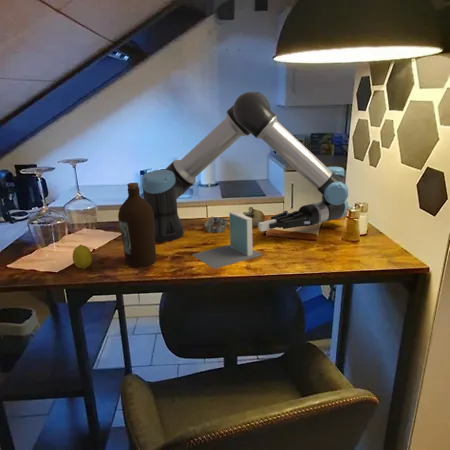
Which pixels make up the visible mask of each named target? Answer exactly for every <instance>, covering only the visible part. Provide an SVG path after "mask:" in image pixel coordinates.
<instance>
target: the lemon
mask: <svg viewBox="0 0 450 450" xmlns="http://www.w3.org/2000/svg"><path fill="white" fill-rule="evenodd" d="M72 261H73V265H75V267H77V268H79V269H82V270H86V269H87V268H88V267H89V266H91V264H92V262H93V254H92V251H91V250H90V248H89V247H88V246H86V245H83V244H79V245H78V246H76V247H75V248H74V250H73V251H72Z"/></svg>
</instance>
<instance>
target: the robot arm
mask: <svg viewBox="0 0 450 450" xmlns="http://www.w3.org/2000/svg"><path fill="white" fill-rule="evenodd" d="M225 114H226V115H225V118H224V119H223V120H222V121H221V122H220V123H219V124H218V125H217V126H215V127H214V128H213V129H212V130H211V131H210V132H209V133H208V134H207V135H206V136H205V137H204V138H203V139H201V140H200V142H198V143H197V144H196V145H195V146H193V148H192V149H191V150H190V151H189V152H187V153H186V155H185V156H184V157H182V158H181V159H174V160H173V161H172V162H171V163H170V164H169V165H168V166H167V167H165V168H164V169H155V170H153V171H149V172H145V174H144V175H143V176H142V180H141V181H142V183H141V184H142V185H141V188H142V195H143V199H144V200H145V201H147V202H148V203H149V204H150V205H151V207H152V209H153V212H154V227H155V243H160V242H170V241H174V240H178V239H180V238H182V237H183V236H184V233H185V232H184V227H183V223H182V222H181V218H180V216H179V215H178V214H179V213H178V202H177V199H178V198H180V197H181V196H182V195H184V194H186V192H187V191H188V190H189V189H190V188H191V187H192V186H193V185H194V184H196V182H197V181H196V180H197V179H196V178H197V176H198V175H200V174H201V173H202V172H203V171H205V169H206V168H207V167H209V165H211V164H213V162H214V161H215V160H216V159H217V158H219V157H220V155H222V154H223V153H224V152H225V151H227V149H229V148H230V147H231V146H232V145H233V144H234V143H236V141H238V140H239V139H240V138H241V137H248V136H249V135H253V137H255V139H261V140H262V141H264V142H265V144H267V146H269V147H270V148H271V149H272V150H273V151H274V152H276V153H277V154H278V155H279V156H280V157H281V158H282V159H283V160H284V161H285V162H287V163H288V165H290V167H292V168H293V169H294V170H295V171H296V172H297V173H298V174H299V175H301V176H302V177H303V178H304V179H305V180H306V181H307V182H308V183H309V184H311V185H312V186H313V187H314V188H315V189H316V190H317V191H318V193H320V194H321V201H317V202H313V203H310V204H309V203H308V204H305V205H302V206H300V207H299V208H298V210H294V211H293V212H288V210H284V211H283V212H281V213H278V214H275V215H273V216H270V219H268V220H264V222H260V223H259V227H258V231H259V232H265V231H269V230H274V229H281V228H282V230H287V229H293V228H294V229H295V228H301V227H311V226H314V225H320V224H321V223H325V222H326V223H327V222H329V221H333V220H339V219H341V218H343V217H346V215H345V213H346V210H347V209H348V208H349V209H350V205H349V203H348V201H347V199H348V197H349V187H348V186H347V185H346V182H345V169H344V167H340V166H326V165H325V164H324V163H323V162H322V161H321V160H319V159H318V157H316V155H315V154H314V153H312V152H311V151H310V150H309V149H308V148H307V147H305V145H304V144H302V143H301V141H299V140H298V139H297V138H296V137H295V136H294V135H293V134H292V133H291V132H290V131H289V130H288V129H286V128H285V127H284V126H283V125H282V124H281V123H280V122H279V121H278V120H277V119H278V117H277V115H276V114H275V113H274V112H273V111H272V110H271V103H270V101H269V99H268V97H267V96H265V95H264V93H262V92H259V91H247V92H244V93H242V94H240V95H239V96H238V97H237V98H236V99H235V101H234V103H233V105H232V106H230V108H229V109H228V110H226V112H225Z"/></svg>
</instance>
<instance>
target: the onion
mask: <svg viewBox="0 0 450 450" xmlns="http://www.w3.org/2000/svg"><path fill="white" fill-rule="evenodd" d="M242 215H244V216H247V217H250V218H252V228H259V223H260V222H264V221H266V219H265V217H266V216H265V214H264V213H263V211H261V210H259V209H254V207H251V206H250V207H248V211H244V212H243V213H242Z"/></svg>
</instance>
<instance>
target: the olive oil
mask: <svg viewBox="0 0 450 450" xmlns="http://www.w3.org/2000/svg"><path fill="white" fill-rule="evenodd" d="M127 194H128V197H127V198H126V199H125V201H123V203H122V204H121V205H120V208H119V209H118V213H117V215H118V216H117V217H118V224H119V230H120V234H121V240H122V241H121V243H122V245H123V247H122V248H123V253H124V259H125V264H126V265H127V266H128V267H131V268H145V267H148V266H151V265H153V264H155V263H156V261H157V255H156V254H157V250H156V242H155V227H154V212H153V209H152V207H151V205H150V204H149V203H148V202H147V201H145V200H144V197H142V196H141V194H140V187H139V182H129V183H127Z"/></svg>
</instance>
